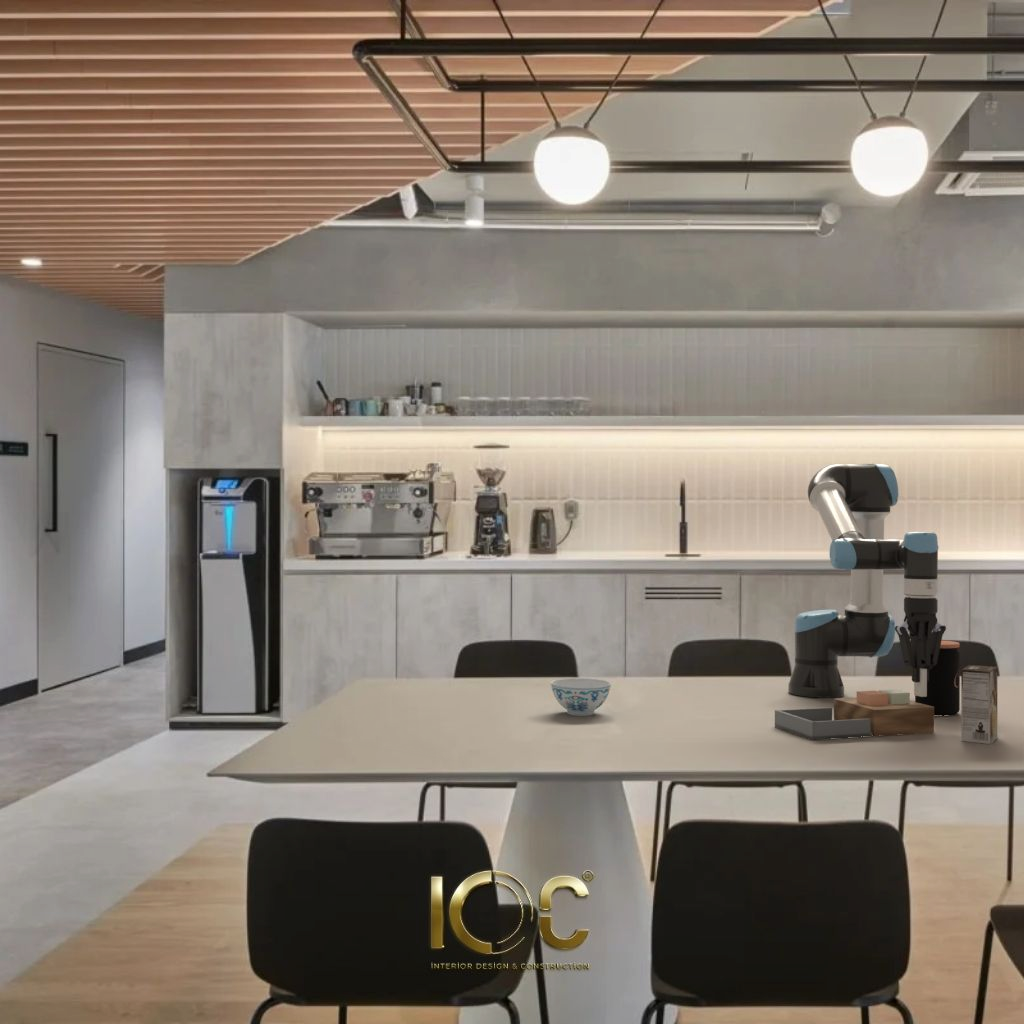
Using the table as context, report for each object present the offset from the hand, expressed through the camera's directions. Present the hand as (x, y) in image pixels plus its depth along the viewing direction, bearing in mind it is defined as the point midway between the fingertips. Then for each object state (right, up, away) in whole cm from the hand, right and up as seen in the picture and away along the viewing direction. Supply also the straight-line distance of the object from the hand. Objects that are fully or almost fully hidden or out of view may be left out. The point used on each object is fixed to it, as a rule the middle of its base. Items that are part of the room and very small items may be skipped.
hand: (920, 695), depth 260 cm
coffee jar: (+11, -8, +18) cm, 22 cm away
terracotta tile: (-13, -1, -4) cm, 13 cm away
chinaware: (-80, -7, +15) cm, 82 cm away
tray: (-26, -7, -8) cm, 28 cm away
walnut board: (-10, -7, -3) cm, 13 cm away
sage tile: (-7, -1, -2) cm, 7 cm away
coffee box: (+7, -7, -16) cm, 19 cm away
